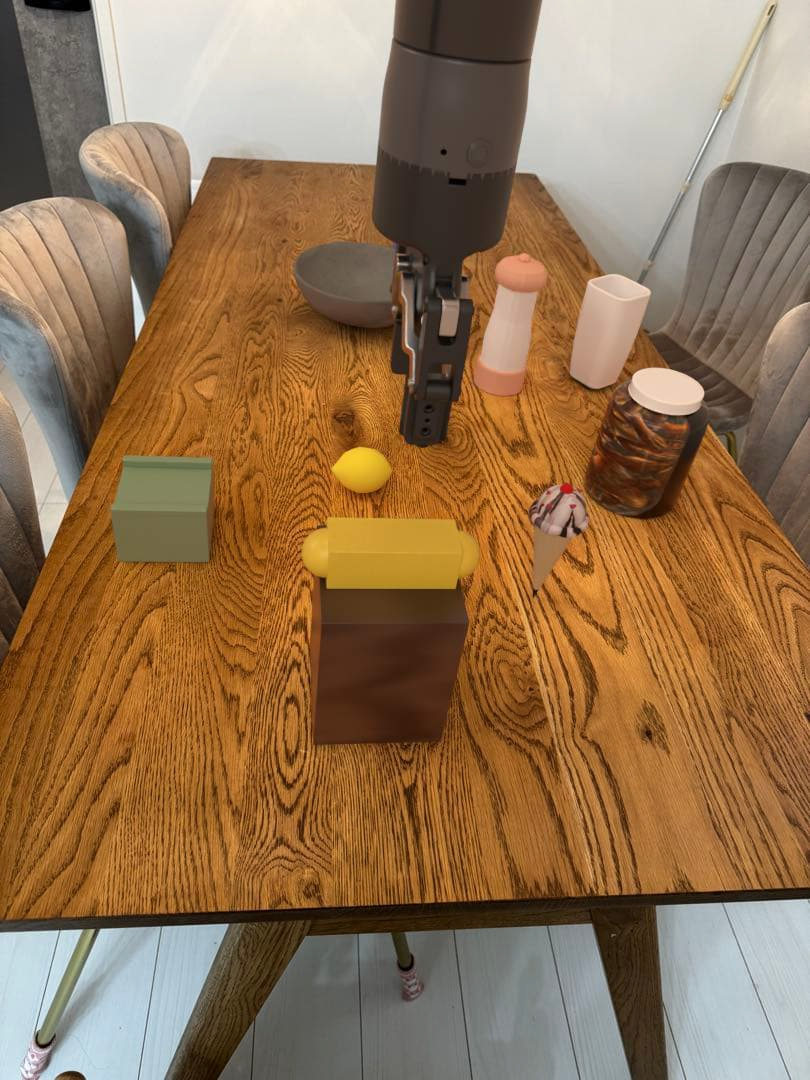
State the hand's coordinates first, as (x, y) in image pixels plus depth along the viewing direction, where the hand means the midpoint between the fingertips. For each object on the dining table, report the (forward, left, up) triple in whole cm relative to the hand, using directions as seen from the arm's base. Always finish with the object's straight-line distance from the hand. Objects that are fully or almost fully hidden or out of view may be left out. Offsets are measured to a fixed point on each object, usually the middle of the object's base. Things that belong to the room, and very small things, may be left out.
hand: (412, 405), depth 54 cm
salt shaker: (+23, +56, -30) cm, 68 cm away
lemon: (+1, +30, -30) cm, 43 cm away
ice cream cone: (+18, +12, -30) cm, 37 cm away
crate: (0, 0, -30) cm, 30 cm away
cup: (+38, +58, -30) cm, 76 cm away
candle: (+10, +42, -30) cm, 53 cm away
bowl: (+4, +75, -30) cm, 81 cm away
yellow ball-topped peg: (0, 0, -15) cm, 15 cm away
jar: (+35, +31, -30) cm, 56 cm away
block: (-20, +21, -30) cm, 42 cm away
